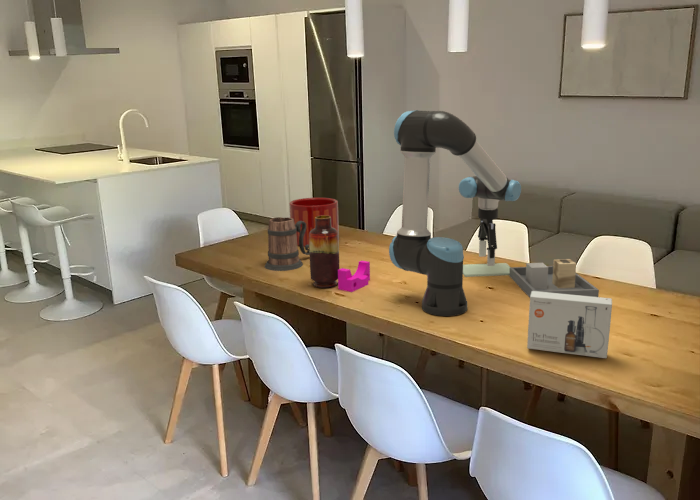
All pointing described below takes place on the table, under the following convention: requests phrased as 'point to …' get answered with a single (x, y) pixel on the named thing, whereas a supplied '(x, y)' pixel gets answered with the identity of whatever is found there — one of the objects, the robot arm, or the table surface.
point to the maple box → (564, 273)
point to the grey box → (537, 275)
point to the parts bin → (580, 284)
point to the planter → (313, 213)
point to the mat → (485, 270)
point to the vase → (324, 253)
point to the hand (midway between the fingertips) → (486, 260)
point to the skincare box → (569, 323)
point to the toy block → (354, 277)
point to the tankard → (285, 244)
